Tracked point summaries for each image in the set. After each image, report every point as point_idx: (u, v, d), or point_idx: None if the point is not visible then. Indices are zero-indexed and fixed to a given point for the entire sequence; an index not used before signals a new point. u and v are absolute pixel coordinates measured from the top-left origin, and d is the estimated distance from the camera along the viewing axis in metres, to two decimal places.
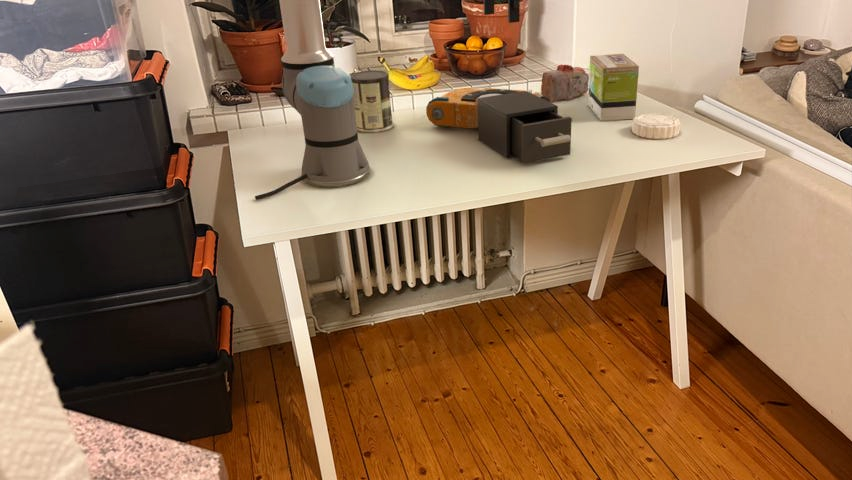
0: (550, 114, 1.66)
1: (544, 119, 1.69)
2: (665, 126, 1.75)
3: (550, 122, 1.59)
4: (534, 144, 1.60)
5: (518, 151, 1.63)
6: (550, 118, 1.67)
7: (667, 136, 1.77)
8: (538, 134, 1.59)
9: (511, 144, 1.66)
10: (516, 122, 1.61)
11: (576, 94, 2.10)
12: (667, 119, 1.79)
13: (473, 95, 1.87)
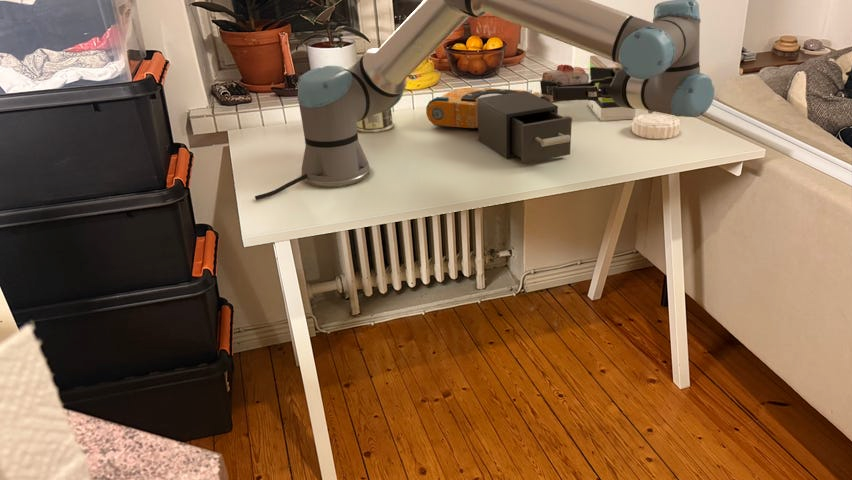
0: (550, 114, 1.66)
1: (544, 119, 1.69)
2: (665, 126, 1.75)
3: (550, 122, 1.59)
4: (534, 144, 1.60)
5: (518, 151, 1.63)
6: (550, 118, 1.67)
7: (667, 136, 1.77)
8: (538, 134, 1.59)
9: (511, 144, 1.66)
10: (516, 122, 1.61)
11: None
12: (667, 119, 1.79)
13: (473, 95, 1.87)
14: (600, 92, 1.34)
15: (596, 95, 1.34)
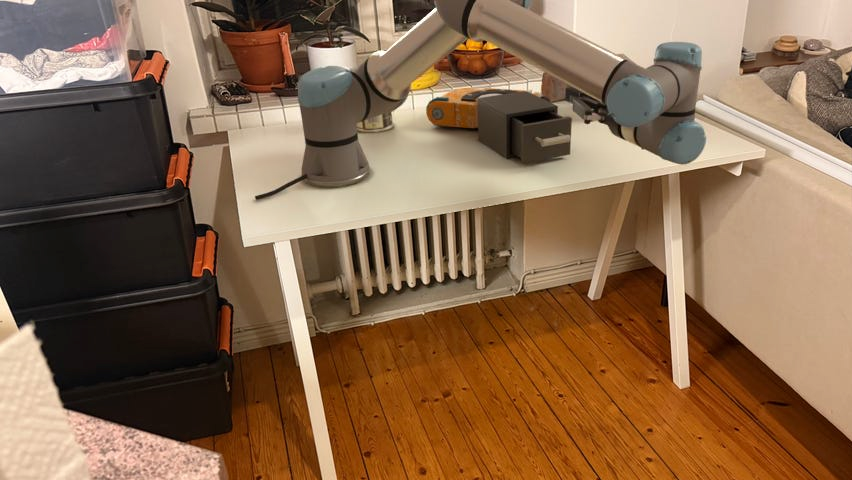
0: (550, 114, 1.66)
1: (544, 119, 1.69)
2: None
3: (550, 122, 1.59)
4: (534, 144, 1.60)
5: (518, 151, 1.63)
6: (550, 118, 1.67)
7: None
8: (538, 134, 1.59)
9: (511, 144, 1.66)
10: (516, 122, 1.61)
11: None
12: None
13: (473, 95, 1.87)
14: (592, 118, 1.33)
15: (586, 119, 1.33)
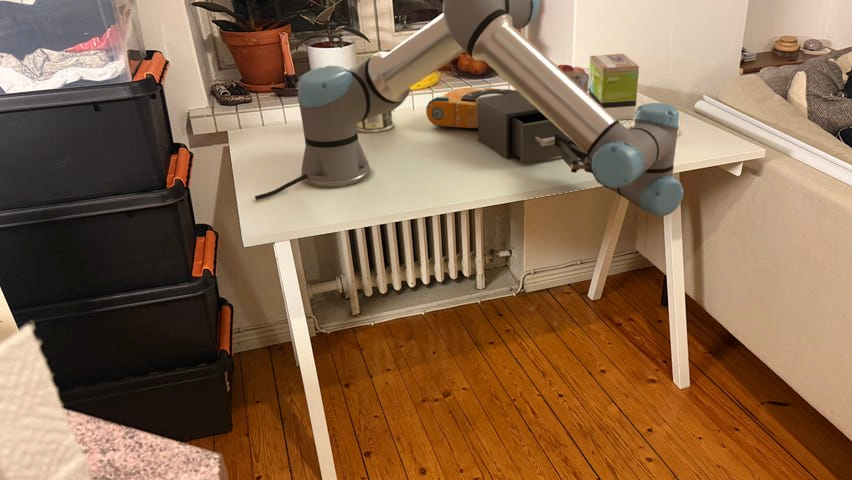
0: None
1: (544, 119, 1.70)
2: None
3: (549, 122, 1.59)
4: (534, 144, 1.60)
5: (518, 151, 1.64)
6: None
7: None
8: (537, 134, 1.59)
9: (511, 143, 1.66)
10: (516, 122, 1.61)
11: None
12: None
13: (473, 95, 1.87)
14: (579, 167, 1.41)
15: (573, 168, 1.42)
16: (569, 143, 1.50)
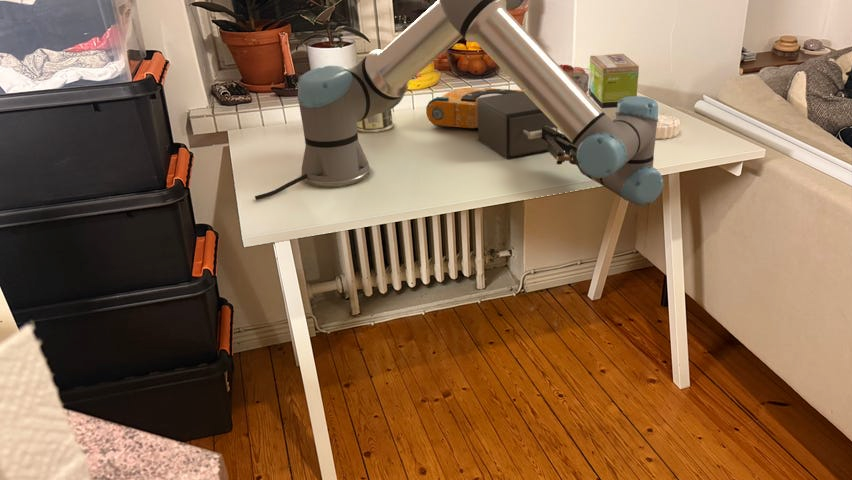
0: None
1: None
2: (665, 126, 1.75)
3: (537, 115, 1.64)
4: (521, 137, 1.65)
5: None
6: None
7: (667, 136, 1.77)
8: (525, 127, 1.64)
9: None
10: None
11: None
12: (667, 119, 1.79)
13: (473, 95, 1.87)
14: (564, 159, 1.46)
15: (558, 160, 1.46)
16: (555, 136, 1.54)
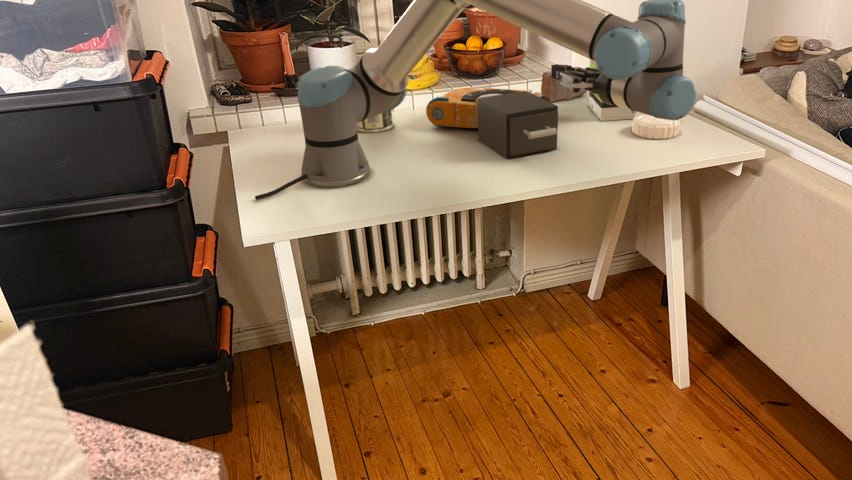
0: None
1: None
2: (665, 126, 1.75)
3: (537, 115, 1.64)
4: (521, 137, 1.65)
5: None
6: None
7: (667, 136, 1.77)
8: (525, 127, 1.64)
9: None
10: None
11: (576, 94, 2.10)
12: None
13: (473, 95, 1.87)
14: (581, 86, 1.34)
15: (575, 87, 1.34)
16: (568, 69, 1.42)
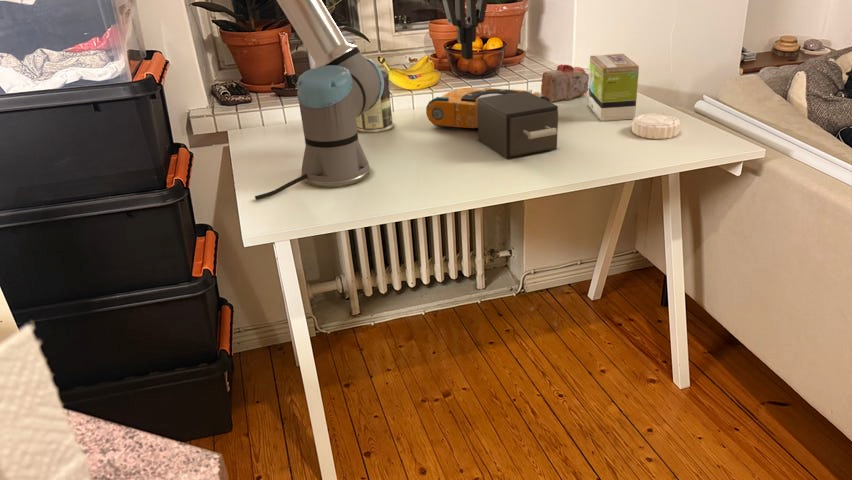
0: None
1: None
2: (665, 126, 1.75)
3: (537, 115, 1.64)
4: (521, 137, 1.65)
5: None
6: None
7: (667, 136, 1.77)
8: (525, 127, 1.64)
9: None
10: None
11: (576, 94, 2.10)
12: (667, 119, 1.79)
13: (473, 95, 1.87)
14: None
15: None
16: None
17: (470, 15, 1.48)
